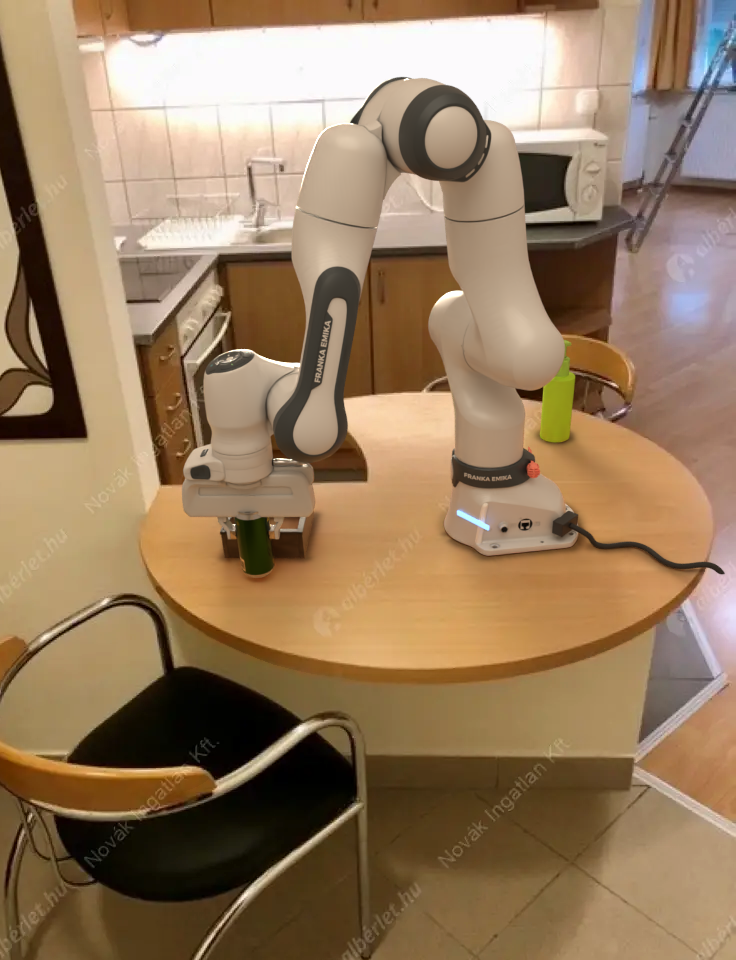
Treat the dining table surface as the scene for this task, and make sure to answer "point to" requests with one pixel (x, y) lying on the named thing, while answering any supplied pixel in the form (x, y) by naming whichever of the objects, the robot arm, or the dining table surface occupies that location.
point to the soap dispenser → (558, 404)
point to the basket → (277, 540)
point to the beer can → (254, 544)
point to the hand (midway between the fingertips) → (253, 537)
